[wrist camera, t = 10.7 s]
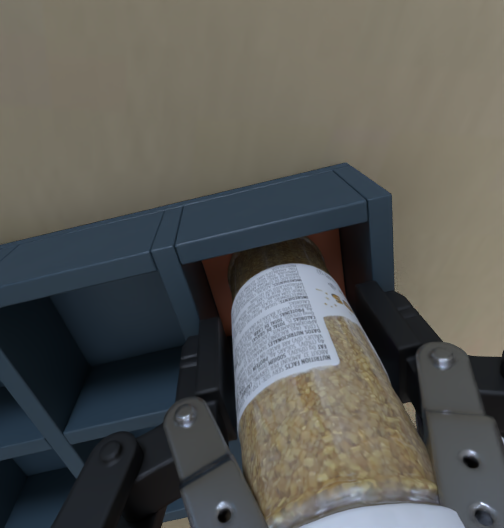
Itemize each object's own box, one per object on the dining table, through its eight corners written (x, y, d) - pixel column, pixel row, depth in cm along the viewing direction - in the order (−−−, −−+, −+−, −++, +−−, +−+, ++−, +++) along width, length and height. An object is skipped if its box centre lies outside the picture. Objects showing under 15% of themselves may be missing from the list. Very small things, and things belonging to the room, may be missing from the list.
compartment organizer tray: (26, 476, 23) (-14, 561, 19) (-147, 279, 16) (-269, 349, 12) (367, 400, 23) (400, 471, 19) (346, 161, 16) (392, 193, 12)
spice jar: (335, 287, 18) (579, 729, 6) (250, 323, 18) (314, 792, 6) (302, 206, 16) (583, 643, 4) (207, 249, 16) (186, 749, 4)
